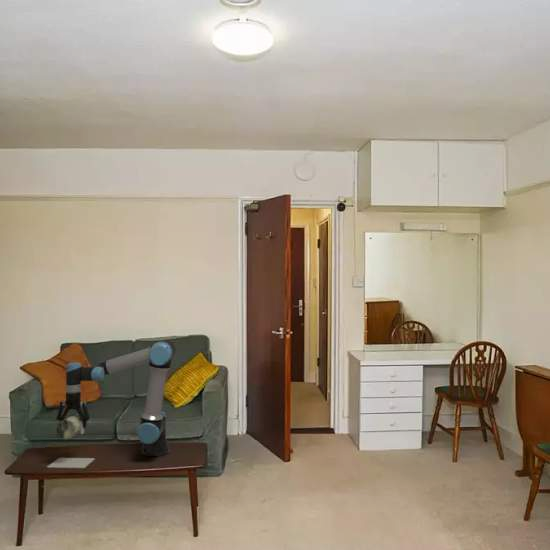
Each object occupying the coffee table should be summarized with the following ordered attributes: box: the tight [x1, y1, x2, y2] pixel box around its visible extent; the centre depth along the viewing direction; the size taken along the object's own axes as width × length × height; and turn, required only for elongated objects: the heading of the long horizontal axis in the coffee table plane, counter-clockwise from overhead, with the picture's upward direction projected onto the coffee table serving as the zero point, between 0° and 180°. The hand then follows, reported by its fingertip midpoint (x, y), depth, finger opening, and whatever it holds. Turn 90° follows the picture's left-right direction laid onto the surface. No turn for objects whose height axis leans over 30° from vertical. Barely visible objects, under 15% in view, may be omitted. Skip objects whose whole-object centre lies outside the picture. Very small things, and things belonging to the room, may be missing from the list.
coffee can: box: [56, 412, 88, 440], centre depth 282 cm, size 10×10×14 cm
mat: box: [46, 457, 96, 469], centre depth 280 cm, size 20×14×1 cm
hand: (72, 433), depth 283 cm, fingers closed on coffee can, 10 cm apart
